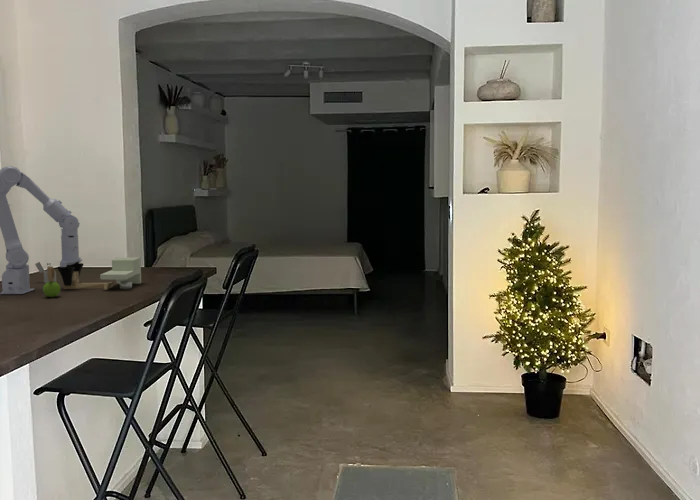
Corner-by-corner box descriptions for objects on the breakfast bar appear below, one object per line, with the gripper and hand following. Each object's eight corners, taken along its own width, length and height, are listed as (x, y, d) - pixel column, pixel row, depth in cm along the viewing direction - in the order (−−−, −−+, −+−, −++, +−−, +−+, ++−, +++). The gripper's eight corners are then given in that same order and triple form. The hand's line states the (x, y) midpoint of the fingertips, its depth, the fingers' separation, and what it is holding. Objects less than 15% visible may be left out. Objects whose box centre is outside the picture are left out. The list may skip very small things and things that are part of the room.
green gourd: (41, 299, 211) (39, 263, 210) (44, 296, 217) (43, 261, 216) (58, 298, 213) (57, 263, 211) (62, 295, 219) (60, 260, 218)
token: (130, 289, 234) (130, 282, 234) (118, 289, 234) (117, 282, 233) (133, 287, 238) (133, 280, 238) (121, 287, 238) (121, 280, 238)
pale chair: (126, 291, 229) (125, 263, 228) (100, 291, 228) (100, 263, 228) (141, 282, 248) (140, 257, 247) (117, 282, 248) (117, 257, 247)
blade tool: (106, 289, 232) (106, 273, 231) (62, 289, 231) (61, 273, 231) (113, 286, 239) (112, 270, 238) (69, 286, 238) (69, 270, 238)
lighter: (56, 281, 249) (55, 261, 249) (55, 282, 248) (54, 262, 247) (37, 282, 248) (36, 261, 247) (35, 282, 246) (34, 262, 246)
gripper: (73, 249, 226) (74, 287, 228) (88, 245, 241) (89, 281, 242) (53, 249, 226) (54, 287, 227) (69, 245, 240) (70, 281, 242)
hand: (71, 284), depth 235 cm, fingers open, 6 cm apart
